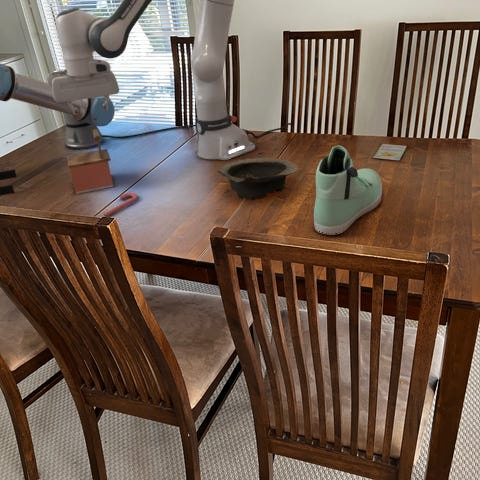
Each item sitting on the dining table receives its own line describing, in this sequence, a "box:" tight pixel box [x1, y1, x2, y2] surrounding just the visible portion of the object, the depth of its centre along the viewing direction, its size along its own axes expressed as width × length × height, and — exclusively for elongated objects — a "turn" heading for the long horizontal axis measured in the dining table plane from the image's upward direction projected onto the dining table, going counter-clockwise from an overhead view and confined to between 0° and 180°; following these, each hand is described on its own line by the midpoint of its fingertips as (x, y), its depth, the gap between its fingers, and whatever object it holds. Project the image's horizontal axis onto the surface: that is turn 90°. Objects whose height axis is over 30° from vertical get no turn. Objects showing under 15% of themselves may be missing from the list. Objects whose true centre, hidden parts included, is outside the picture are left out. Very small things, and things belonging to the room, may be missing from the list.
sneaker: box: [313, 145, 383, 236], centre depth 133 cm, size 14×35×20 cm, turn 152°
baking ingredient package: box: [373, 143, 407, 161], centre depth 172 cm, size 9×1×15 cm
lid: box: [67, 129, 111, 169], centre depth 159 cm, size 13×10×9 cm
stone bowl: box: [217, 157, 299, 201], centre depth 152 cm, size 25×25×9 cm
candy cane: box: [103, 192, 139, 218], centre depth 150 cm, size 6×15×2 cm, turn 145°
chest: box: [68, 161, 115, 195], centre depth 164 cm, size 13×10×9 cm
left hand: (14, 180), depth 157 cm, fingers open, 13 cm apart
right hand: (91, 111), depth 155 cm, fingers open, 8 cm apart
